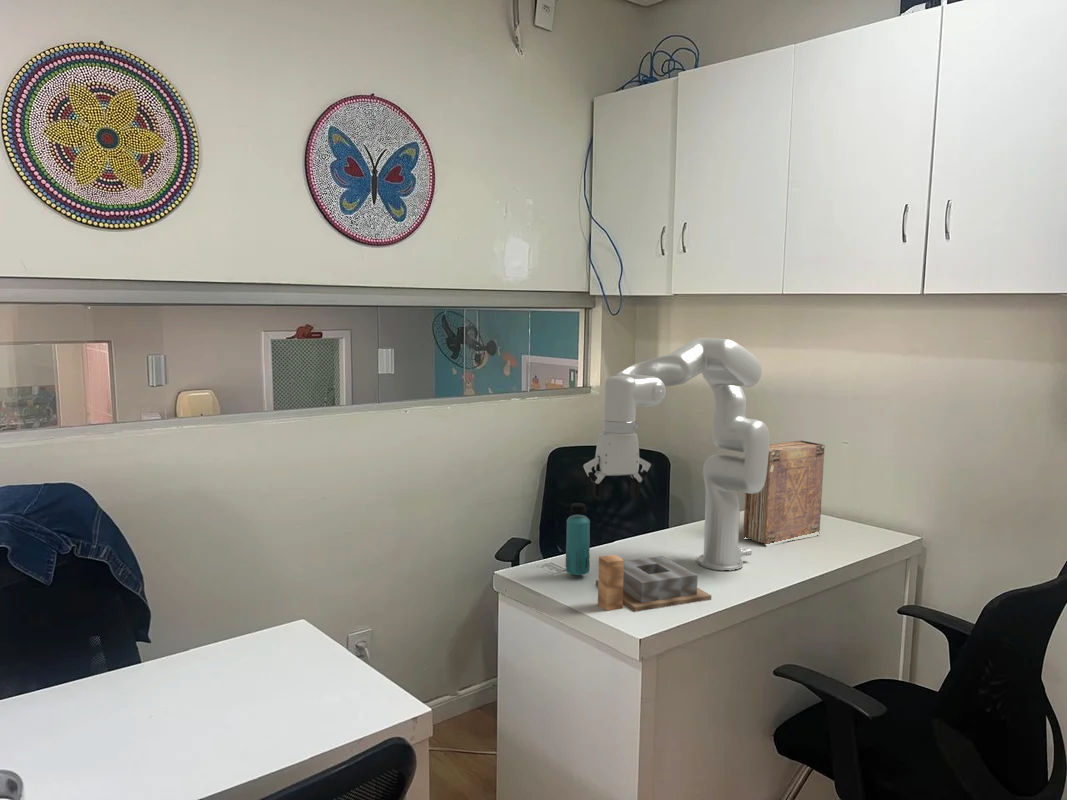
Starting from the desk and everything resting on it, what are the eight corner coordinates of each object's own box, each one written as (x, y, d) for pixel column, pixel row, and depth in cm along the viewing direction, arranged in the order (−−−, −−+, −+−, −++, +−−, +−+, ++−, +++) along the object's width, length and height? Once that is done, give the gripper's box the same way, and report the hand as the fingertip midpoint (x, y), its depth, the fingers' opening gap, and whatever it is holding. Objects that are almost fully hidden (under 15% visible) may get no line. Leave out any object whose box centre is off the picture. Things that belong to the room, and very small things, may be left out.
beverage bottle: (587, 581, 206) (589, 507, 203) (563, 579, 207) (564, 506, 205) (590, 573, 212) (592, 501, 210) (566, 571, 213) (568, 500, 211)
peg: (613, 602, 192) (614, 554, 190) (622, 608, 188) (623, 560, 186) (597, 604, 190) (599, 556, 188) (606, 610, 186) (607, 562, 184)
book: (765, 547, 239) (769, 450, 235) (742, 539, 247) (746, 446, 243) (819, 535, 252) (824, 444, 249) (796, 528, 260) (801, 440, 256)
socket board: (667, 574, 213) (668, 552, 212) (711, 599, 194) (712, 576, 194) (595, 584, 204) (596, 561, 203) (634, 611, 186) (635, 587, 185)
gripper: (644, 425, 192) (641, 493, 194) (579, 426, 187) (576, 496, 189) (658, 429, 185) (655, 500, 187) (592, 430, 180) (589, 503, 181)
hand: (615, 498), depth 188 cm, fingers open, 9 cm apart
